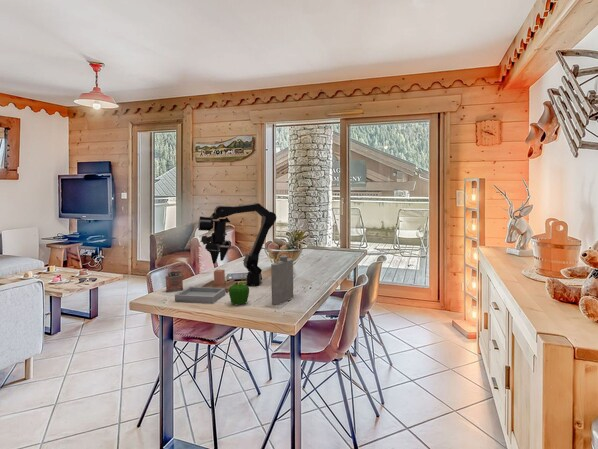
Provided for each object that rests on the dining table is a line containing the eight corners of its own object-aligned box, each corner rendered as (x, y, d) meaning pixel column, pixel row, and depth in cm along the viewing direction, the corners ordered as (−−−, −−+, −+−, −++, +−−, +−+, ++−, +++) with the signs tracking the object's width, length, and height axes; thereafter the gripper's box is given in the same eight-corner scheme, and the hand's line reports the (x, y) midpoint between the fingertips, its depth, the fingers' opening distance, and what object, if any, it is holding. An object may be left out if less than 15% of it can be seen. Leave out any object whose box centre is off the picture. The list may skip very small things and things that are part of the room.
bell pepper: (225, 303, 156) (224, 281, 155) (240, 299, 162) (240, 277, 161) (237, 308, 150) (237, 284, 149) (252, 303, 156) (252, 280, 156)
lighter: (166, 292, 173) (165, 272, 172) (165, 291, 176) (164, 271, 175) (183, 290, 177) (183, 270, 176) (182, 288, 180) (181, 269, 179)
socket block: (237, 284, 187) (237, 281, 186) (227, 292, 173) (227, 288, 173) (212, 283, 189) (212, 280, 189) (200, 291, 175) (200, 287, 175)
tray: (225, 294, 170) (225, 288, 170) (213, 303, 156) (213, 296, 156) (189, 292, 173) (189, 286, 173) (174, 301, 159) (174, 295, 159)
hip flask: (288, 294, 169) (288, 252, 167) (296, 295, 167) (295, 253, 165) (270, 304, 155) (269, 258, 153) (278, 305, 153) (278, 259, 151)
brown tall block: (225, 287, 183) (224, 269, 182) (222, 289, 179) (221, 271, 178) (217, 286, 183) (217, 269, 182) (214, 289, 179) (213, 271, 178)
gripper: (212, 228, 190) (210, 257, 191) (195, 231, 171) (194, 263, 172) (232, 230, 188) (230, 259, 189) (217, 233, 169) (216, 265, 170)
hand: (218, 262), depth 180 cm, fingers open, 9 cm apart
